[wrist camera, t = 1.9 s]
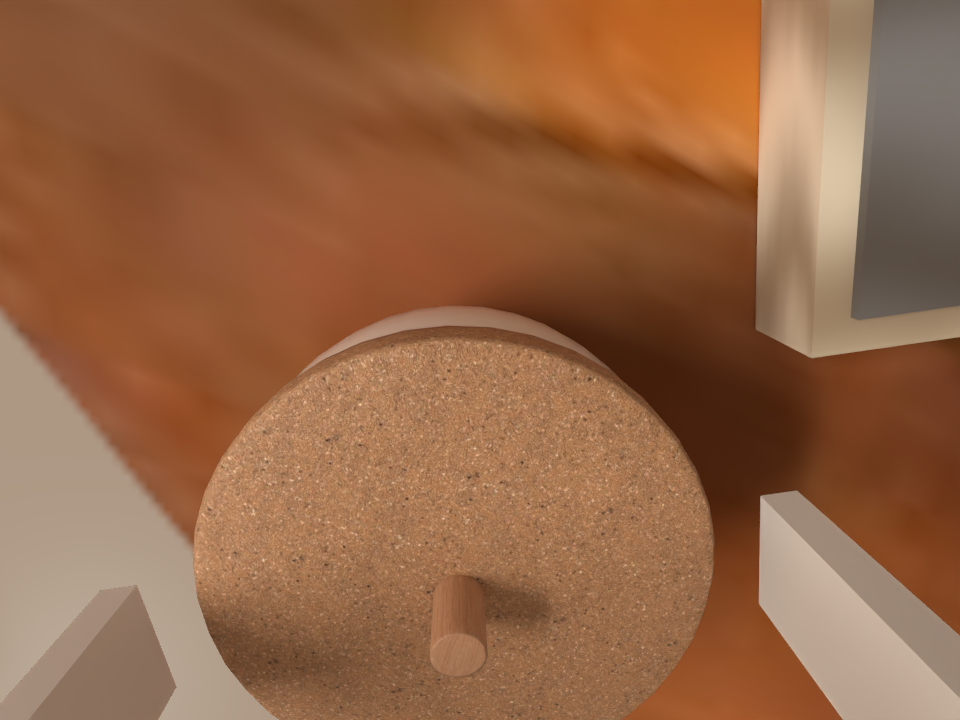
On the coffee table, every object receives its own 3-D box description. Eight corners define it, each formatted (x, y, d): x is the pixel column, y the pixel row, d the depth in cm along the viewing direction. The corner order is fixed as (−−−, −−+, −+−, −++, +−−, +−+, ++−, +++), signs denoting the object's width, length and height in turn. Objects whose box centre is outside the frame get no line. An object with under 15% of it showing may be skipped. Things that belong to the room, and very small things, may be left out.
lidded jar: (664, 321, 18) (870, 465, 9) (557, 588, 21) (630, 892, 12) (333, 225, 17) (187, 282, 8) (270, 525, 20) (114, 814, 11)
